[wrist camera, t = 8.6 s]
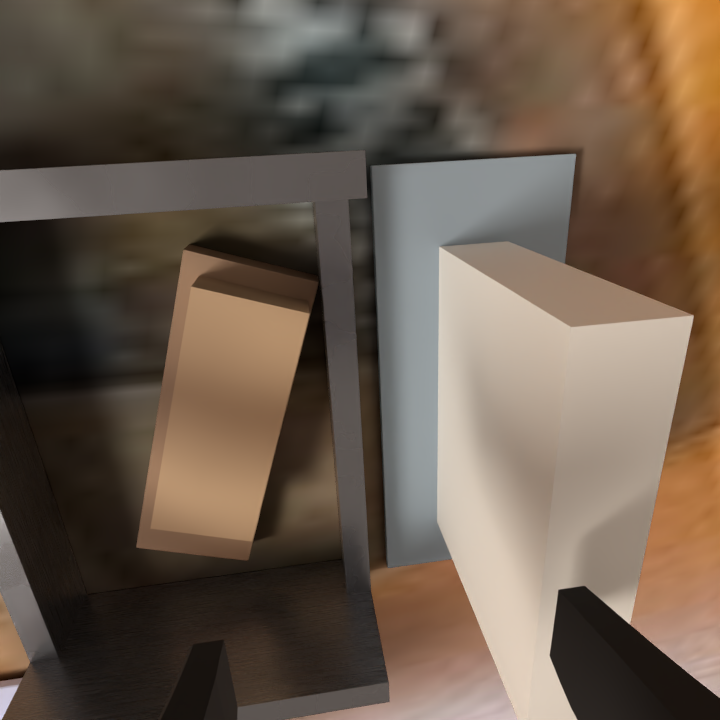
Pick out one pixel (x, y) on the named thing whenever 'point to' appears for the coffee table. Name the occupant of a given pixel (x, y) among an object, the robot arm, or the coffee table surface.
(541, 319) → the cream rectangular slab
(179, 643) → the rack
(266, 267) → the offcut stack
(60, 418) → the coffee table surface
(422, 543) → the mat
